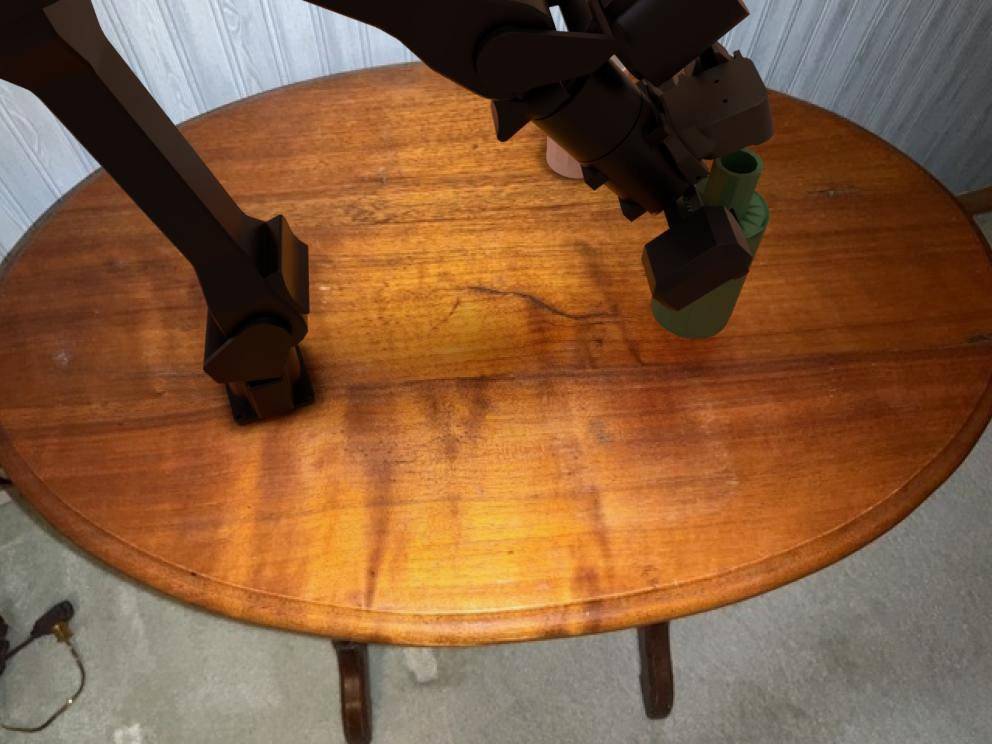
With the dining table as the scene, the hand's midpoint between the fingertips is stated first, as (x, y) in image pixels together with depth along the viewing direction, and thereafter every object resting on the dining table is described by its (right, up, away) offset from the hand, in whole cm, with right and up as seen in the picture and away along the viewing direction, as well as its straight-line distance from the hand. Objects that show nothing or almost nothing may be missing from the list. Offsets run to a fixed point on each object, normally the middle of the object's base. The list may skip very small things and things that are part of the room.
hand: (730, 240), depth 61 cm
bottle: (-2, -5, +6) cm, 8 cm away
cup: (-9, +12, +24) cm, 29 cm away
